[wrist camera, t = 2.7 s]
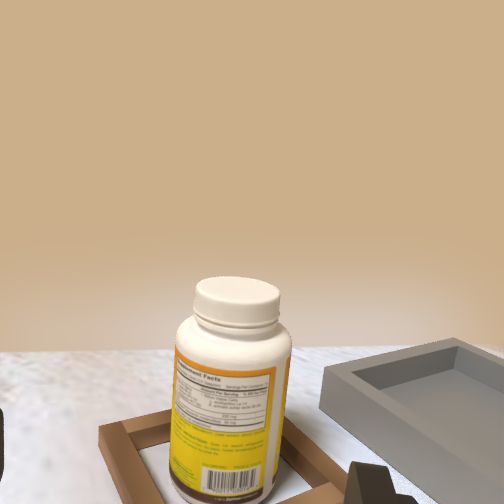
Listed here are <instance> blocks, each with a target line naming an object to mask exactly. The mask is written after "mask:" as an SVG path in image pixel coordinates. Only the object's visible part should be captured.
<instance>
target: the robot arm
mask: <svg viewBox="0 0 504 504" xmlns="http://www.w3.org/2000/svg"><path fill="white" fill-rule="evenodd" d="M3 470H4V417H3V412H2V410H1V409H0V481H1V478H2V475H3ZM343 504H418V502H417V501H416V500H415V499H414V498H413V497H412V496H409V495H402V494H396V492H395V489H394V485H393V482H392V479H391V476H390V473H389V470H388V468H387V467H386V466H381V465H374V464H368V463H361V462H354V461H352V462H351V464H350V468H349V473H348V479H347V485H346V491H345V497H344V502H343Z"/></svg>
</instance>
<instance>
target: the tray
mask: <svg viewBox="0 0 504 504" xmlns="http://www.w3.org/2000/svg"><path fill="white" fill-rule="evenodd" d="M319 408H320V409H321V410H322V411H323V412H325V413H326V414H327V415H328V416H330V417H331V418H332V419H333V420H335V421H336V422H337V423H338V424H340V425H341V426H342V427H344V428H345V429H346V430H347V431H349V432H350V433H351V434H352V435H354V436H355V437H356V438H357V439H359V440H360V441H361V442H362V443H364V444H365V445H366V446H367V447H369V448H370V449H371V450H372V451H374V452H375V453H376V454H377V455H379V456H380V457H381V458H382V459H384V460H385V461H386V462H387V463H389V464H390V465H391V466H392V467H394V468H395V469H396V470H397V471H399V472H400V473H401V474H402V475H404V476H405V477H406V478H407V479H409V480H410V481H411V482H412V483H414V484H415V485H416V486H417V487H419V488H420V489H421V490H422V491H424V492H425V493H426V494H427V495H429V496H430V497H431V498H432V499H434V500H435V501H436V502H437V503H439V504H504V359H502V358H499V357H497V356H495V355H493V354H490V353H488V352H486V351H483V350H481V349H479V348H477V347H474V346H472V345H470V344H467V343H465V342H463V341H460V340H458V339H456V338H450V339H446V340H441V341H437V342H432V343H428V344H424V345H419V346H415V347H410V348H406V349H402V350H397V351H393V352H388V353H384V354H380V355H375V356H371V357H366V358H362V359H358V360H353V361H349V362H345V363H340V364H336V365H331V366H327V367H324V374H323V382H322V389H321V396H320V403H319Z"/></svg>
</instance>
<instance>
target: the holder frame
mask: <svg viewBox="0 0 504 504" xmlns="http://www.w3.org/2000/svg"><path fill="white" fill-rule="evenodd" d="M171 416H172V409H169V410H165V411H161V412H157V413H152V414H148V415H144V416H140V417H136V418H131V419H127V420H123V421H119V422H114V423H110V424H106V425H102V426H99V443H98V446H99V448H100V451H101V453H102V455H103V458H104V460H105V462H106V465H107V467H108V470H109V472H110V474H111V477H112V479H113V481H114V484H115V486H116V489H117V491H118V493H119V496H120V498H121V500H122V503H123V504H165V503H164V501H163V499H162V497H161V495H160V493H159V491H158V489H157V487H156V486H155V484H154V482H153V480H152V478H151V476H150V474H149V472H148V471H147V469H146V467H145V465H144V463H143V461H142V459H141V457H140V456H139V454H138V452H137V450H139V449H142V448H146V447H149V446H153V445H157V444H160V443H164V442H168V441H170V438H171ZM280 454H281V455H282V457H283V458H284V459H285V460H286V461H287V462H288V463H289V464H290V465H291V466H292V467H293V468H294V469H295V470H296V471H297V472H298V473H299V474H300V475H301V476H302V477H303V478H304V479H305V480H306V482H307V483H308V484H309V485H310V486H311V487H312V488H313V489H311V490H309V491H306V492H304V493H301V494H299V495H296V496H294V497H291V498H289V499H286V500H284V501H282V502H279V503H277V504H343V502H344V497H345V491H346V485H347V479H348V474H347V473H346V472H345V471H344V470H343V469H342V468H341V467H340V466H339V465H337V464H336V463H335V462H334V461H333V460H332V459H331V458H330V457H329V456H328V455H327V454H325V453H324V452H323V451H322V450H321V449H320V448H319V447H318V446H317V445H316V444H314V443H313V442H312V441H311V440H310V439H309V438H308V437H307V436H306V435H305V434H303V433H302V432H301V431H300V430H299V429H298V428H297V427H296V426H295V425H294V424H292V423H291V422H290V421H289V420H288V419H287V418H286V417H285V416H284V419H283V428H282V436H281V445H280Z"/></svg>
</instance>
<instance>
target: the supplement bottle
mask: <svg viewBox="0 0 504 504" xmlns="http://www.w3.org/2000/svg"><path fill="white" fill-rule="evenodd" d="M279 305H280V292H279V290H278V289H277V288H276V287H275V286H273V285H271V284H269V283H266V282H263V281H260V280H256V279H251V278H244V277H230V276H224V277H213V278H208V279H205V280H202V281H200V282H199V283H198V284H197V286H196V293H195V302H194V305H193V309H194V315H193V316H191V317H189V318H188V319H186V320H185V321H184V322H183V323H182V324H181V325H180V326H179V328H178V331H177V333H176V342H175V361H174V378H173V397H172V416H171V438H170V458H169V473H170V478H171V481H172V483H173V485H174V487H175V489H176V490H177V492H178V493H179V494H180V495H181V496H182V497H183V498H184V499H185V500H187V501H188V502H189V503H191V504H258V503H259V502H261V501H262V500H263V499H264V498H265V497H266V496H267V495H268V494H269V493H270V492H271V490H272V488H273V486H274V484H275V481H276V477H277V470H278V463H279V453H280V445H281V436H282V428H283V419H284V411H285V403H286V394H287V385H288V377H289V368H290V359H291V352H292V341H291V336H290V334H289V332H288V331H287V329H286V328H285V327H284V326H283V325H282V324H280V323H278V317H279V315H280V312H279Z"/></svg>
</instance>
